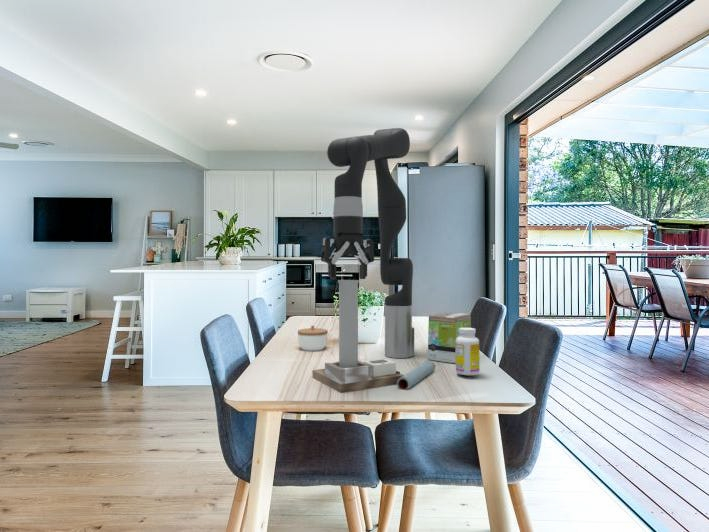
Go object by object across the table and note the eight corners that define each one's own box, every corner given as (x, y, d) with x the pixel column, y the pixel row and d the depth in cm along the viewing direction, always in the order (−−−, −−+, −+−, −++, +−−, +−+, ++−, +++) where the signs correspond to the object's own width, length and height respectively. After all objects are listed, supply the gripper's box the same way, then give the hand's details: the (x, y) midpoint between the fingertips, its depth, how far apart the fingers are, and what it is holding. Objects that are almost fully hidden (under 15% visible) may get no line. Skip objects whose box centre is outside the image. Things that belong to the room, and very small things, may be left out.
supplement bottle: (480, 371, 130) (480, 327, 130) (478, 376, 124) (478, 330, 124) (456, 369, 132) (456, 326, 132) (454, 374, 126) (454, 329, 126)
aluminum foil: (409, 391, 111) (409, 378, 111) (384, 388, 114) (384, 375, 114) (435, 372, 131) (435, 360, 131) (413, 370, 134) (413, 358, 134)
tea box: (456, 363, 141) (456, 317, 141) (426, 360, 146) (427, 315, 146) (471, 355, 153) (471, 312, 153) (443, 352, 159) (443, 311, 159)
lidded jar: (296, 349, 164) (296, 324, 164) (324, 348, 167) (324, 323, 167) (299, 355, 154) (299, 328, 154) (330, 354, 156) (330, 327, 156)
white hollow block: (385, 370, 123) (385, 358, 123) (395, 373, 118) (395, 361, 118) (363, 372, 119) (363, 360, 119) (373, 376, 115) (373, 364, 115)
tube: (358, 380, 112) (358, 280, 112) (337, 380, 112) (337, 280, 112) (359, 375, 117) (359, 280, 117) (339, 375, 117) (339, 280, 117)
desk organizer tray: (371, 369, 132) (371, 351, 132) (404, 382, 117) (404, 361, 117) (312, 377, 123) (312, 357, 123) (340, 392, 108) (340, 369, 108)
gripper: (329, 212, 107) (329, 280, 108) (379, 216, 114) (379, 279, 114) (316, 215, 114) (316, 279, 114) (364, 218, 121) (364, 278, 121)
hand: (348, 279), depth 114 cm, fingers open, 8 cm apart
